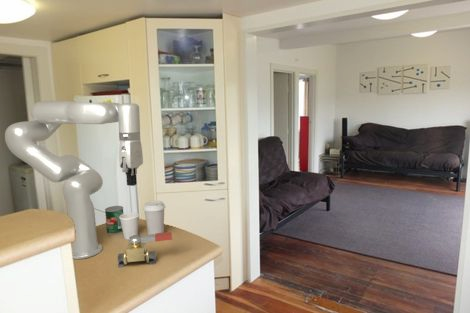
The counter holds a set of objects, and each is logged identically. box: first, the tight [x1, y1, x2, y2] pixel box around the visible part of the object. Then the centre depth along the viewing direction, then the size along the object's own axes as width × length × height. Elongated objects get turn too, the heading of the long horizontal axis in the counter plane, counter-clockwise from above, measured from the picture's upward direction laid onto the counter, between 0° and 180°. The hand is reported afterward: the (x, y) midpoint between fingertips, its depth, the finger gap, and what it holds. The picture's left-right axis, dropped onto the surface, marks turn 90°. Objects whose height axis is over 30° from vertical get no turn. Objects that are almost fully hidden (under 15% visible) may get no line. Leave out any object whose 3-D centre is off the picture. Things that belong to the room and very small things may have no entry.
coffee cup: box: [142, 200, 166, 235], centre depth 149 cm, size 10×10×15 cm
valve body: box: [117, 242, 157, 268], centre depth 124 cm, size 13×6×8 cm, turn 99°
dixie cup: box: [119, 212, 140, 240], centre depth 148 cm, size 8×8×10 cm
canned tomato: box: [104, 205, 124, 235], centre depth 156 cm, size 8×8×11 cm
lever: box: [128, 231, 173, 245], centre depth 124 cm, size 4×15×2 cm, turn 103°
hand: (131, 184), depth 128 cm, fingers closed
